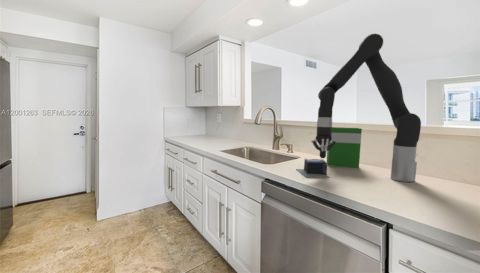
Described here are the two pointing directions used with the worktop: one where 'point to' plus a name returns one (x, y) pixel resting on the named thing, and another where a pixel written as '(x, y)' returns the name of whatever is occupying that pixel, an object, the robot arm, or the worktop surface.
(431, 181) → the worktop surface
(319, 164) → the small box
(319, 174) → the mat
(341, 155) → the green cereal box
